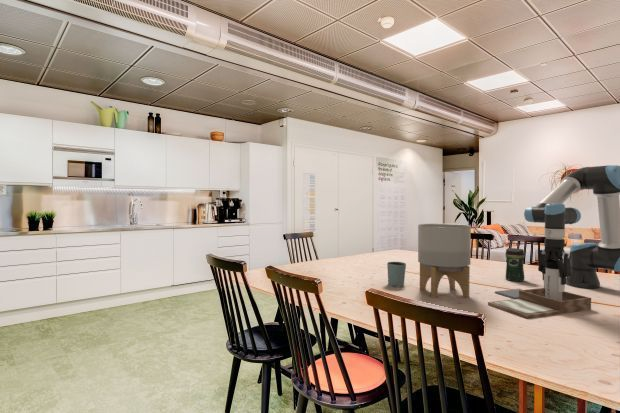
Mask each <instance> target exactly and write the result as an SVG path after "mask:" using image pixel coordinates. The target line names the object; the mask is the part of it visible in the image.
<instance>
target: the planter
mask: <svg viewBox="0 0 620 413" xmlns="http://www.w3.org/2000/svg"><path fill="white" fill-rule="evenodd" d="M417 226H418V227H417V230H418V231H417V238H418V239H417V261H418V263H419V290H423V291H425V290H426V289H427V284H428V281H429V280H430V298H432V299H436V298H437V297H438V288H439V284H440V282H441V280H442V278H443V277H444V276H446V277H447V279H448V284H449V289H450V290H455V289H456V283H457V284H458V285H459V287H460V289H461V292H462V297H463V298H467V299H468V298H470V276H471V275H470V274H471V273H470V269H471V268H470V266H471V249H472V248H471V245H472V244H471V241H472V240H471V238H472V237H471V233H472V232H471V231H472V226H471V225H469V224H460V223H420V224H418V225H417Z"/></svg>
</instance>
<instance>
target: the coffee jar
mask: <svg viewBox="0 0 620 413" xmlns="http://www.w3.org/2000/svg"><path fill="white" fill-rule="evenodd" d="M504 255H505V258H506V266H505V267H506V268H505V276H504V277H505V279H506V280H507V281H512V282H523V281H525V269H524V258H525V251H524V249H523V248H516V247H509V248H508V247H507V248H506V250H505V254H504Z"/></svg>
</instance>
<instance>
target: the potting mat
mask: <svg viewBox="0 0 620 413" xmlns="http://www.w3.org/2000/svg"><path fill="white" fill-rule="evenodd" d="M519 290H523V289H521V288H514V289H513V288H512V289H504V290H496V291H494V294H497V295H500V296H504V297H506V298H510V299H519Z"/></svg>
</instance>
